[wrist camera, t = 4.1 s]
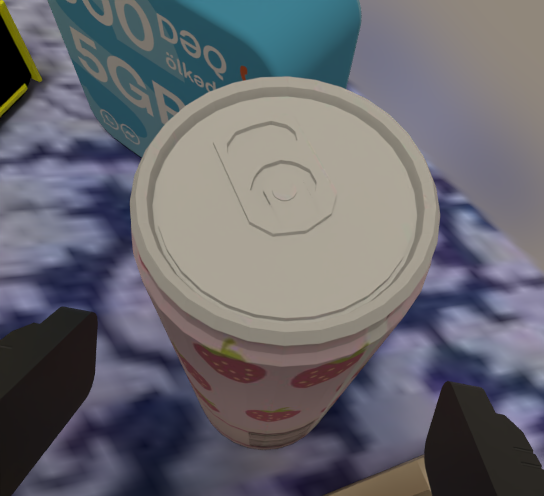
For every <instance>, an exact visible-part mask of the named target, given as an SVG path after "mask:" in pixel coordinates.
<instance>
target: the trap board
mask: <svg viewBox="0 0 544 496" xmlns="http://www.w3.org/2000/svg"><path fill="white" fill-rule="evenodd" d="M323 496H432V493H431V489H430V485H429V481H428V477H427V473H426V469H425V463H424V455H422V456H419V457H417V458H414V459H412V460H409V461H407V462H404V463H402V464H399V465H397V466H395V467H392V468H390V469H387V470H385V471H382V472H380V473H377V474H375V475H372V476H370V477H367V478H365V479H362V480H360V481H357V482H355V483H352V484H350V485H348V486H345V487H343V488H340V489H338V490H335V491H333V492H330V493H328V494H325V495H323Z"/></svg>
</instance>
